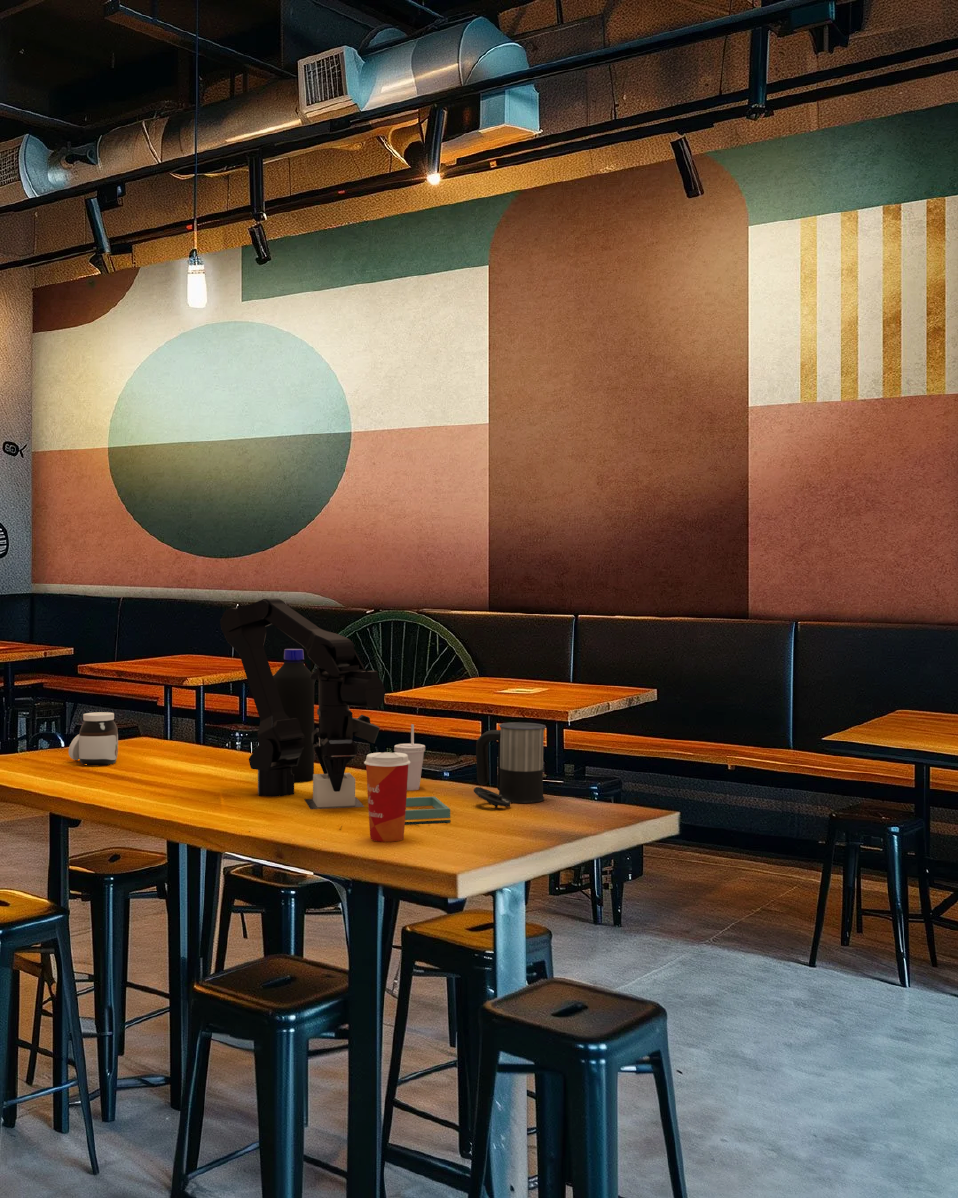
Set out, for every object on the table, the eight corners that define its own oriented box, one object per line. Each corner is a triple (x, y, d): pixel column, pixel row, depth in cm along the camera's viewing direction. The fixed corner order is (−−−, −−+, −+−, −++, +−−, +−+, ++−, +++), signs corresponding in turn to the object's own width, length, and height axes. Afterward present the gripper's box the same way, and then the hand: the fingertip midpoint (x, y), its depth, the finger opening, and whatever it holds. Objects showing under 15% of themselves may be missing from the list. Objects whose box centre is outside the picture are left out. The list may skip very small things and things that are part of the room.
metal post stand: (310, 814, 219) (310, 779, 219) (304, 804, 229) (304, 770, 229) (364, 812, 222) (364, 777, 222) (355, 802, 231) (356, 768, 231)
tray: (381, 826, 209) (381, 812, 209) (369, 812, 221) (369, 799, 221) (450, 823, 212) (450, 809, 212) (434, 809, 224) (434, 796, 224)
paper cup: (364, 833, 203) (364, 751, 203) (409, 833, 204) (409, 751, 204) (363, 844, 195) (363, 758, 195) (410, 843, 196) (411, 758, 196)
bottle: (264, 781, 255) (265, 649, 254) (286, 775, 263) (286, 647, 262) (300, 784, 251) (301, 651, 251) (321, 777, 260) (321, 648, 259)
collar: (317, 807, 221) (317, 780, 221) (313, 800, 228) (313, 774, 228) (355, 805, 223) (355, 778, 223) (349, 798, 230) (349, 772, 229)
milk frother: (543, 795, 240) (544, 721, 240) (549, 811, 224) (550, 732, 224) (472, 795, 240) (473, 721, 239) (473, 810, 224) (474, 731, 224)
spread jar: (108, 767, 272) (108, 716, 272) (58, 767, 272) (58, 716, 272) (124, 759, 284) (124, 710, 284) (77, 759, 284) (77, 710, 284)
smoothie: (420, 797, 238) (421, 726, 237) (389, 795, 239) (390, 725, 239) (428, 791, 244) (429, 722, 244) (398, 790, 245) (398, 721, 245)
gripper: (385, 709, 218) (384, 794, 218) (368, 698, 236) (367, 777, 236) (324, 710, 215) (323, 796, 216) (311, 699, 233) (311, 779, 234)
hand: (333, 787), depth 225 cm, fingers open, 9 cm apart
